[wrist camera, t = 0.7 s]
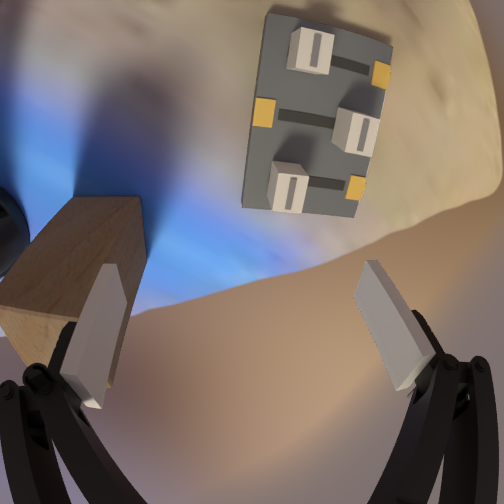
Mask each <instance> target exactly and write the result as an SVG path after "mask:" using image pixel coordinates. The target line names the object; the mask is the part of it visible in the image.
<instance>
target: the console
mask: <svg viewBox="0 0 504 504" xmlns="http://www.w3.org/2000/svg"><path fill="white" fill-rule="evenodd" d="M301 27H304V28H308V29H313V30H317V31H321V32H325V33H329V34H333V35H335V36H334V42H333V49H332V56H331V62H330V68H329V74H328V75H324V74H312V73H307V72H301V71H296V70H291V69H286V67H287V61H288V54H289V47H290V40H291V33H293V32H294V31H296V30H297V29H299V28H301ZM392 50H393V47H392V46H390V45H387V44H385V43H382V42H379V41H377V40H374V39H371V38H368V37H365V36H362V35H359V34H356V33H353V32H350V31H347V30H344V29H340V28H337V27H333V26H329V25H326V24H322V23H318V22H313V21H309V20H305V19H300V18H295V17H290V16H284V15H278V14H272V13H267V15H266V16H265V22H264V29H263V36H262V43H261V50H260V57H259V64H258V71H257V79H256V86H255V94H254V101H253V109H252V117H251V124H250V132H249V140H248V148H247V156H246V165H245V173H244V181H243V190H242V198H241V203H242V208H254V209H267V210H272V209H271V206H270V203H269V200H268V197H267V191H268V185H269V179H270V172H271V166H272V161H279V162H288V163H296V164H300V165H301V166H302V168H303V169H304V170H305V172H306V173H307V174H308V175H309V181H308V185H307V190H306V195H305V199H304V204H303V208H302V213H312V214H322V215H332V216H341V217H350V218H354V216H355V212H356V209H357V206H358V203H359V201H360V198H361V195H363V192H364V189H365V185H366V182H365V181H366V176H367V173H368V169H369V165H370V161H371V157H367V156H363V155H358V154H353V153H348V152H344V151H343V150H341V149H340V148H339V147H337V146H336V145H335V144H333V143H332V142H331V140H332V135H333V130H334V125H335V120H336V115H337V110H338V107H340V108H344V109H348V110H353V111H356V112H360V113H364V114H367V115H369V116H372V117H375V118H377V119H381V115H382V110H383V105H384V100H385V95H386V90H387V86H388V85H389V82H390V76H391V72H390V69H391V57H392ZM377 133H378V132H377Z"/></svg>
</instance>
